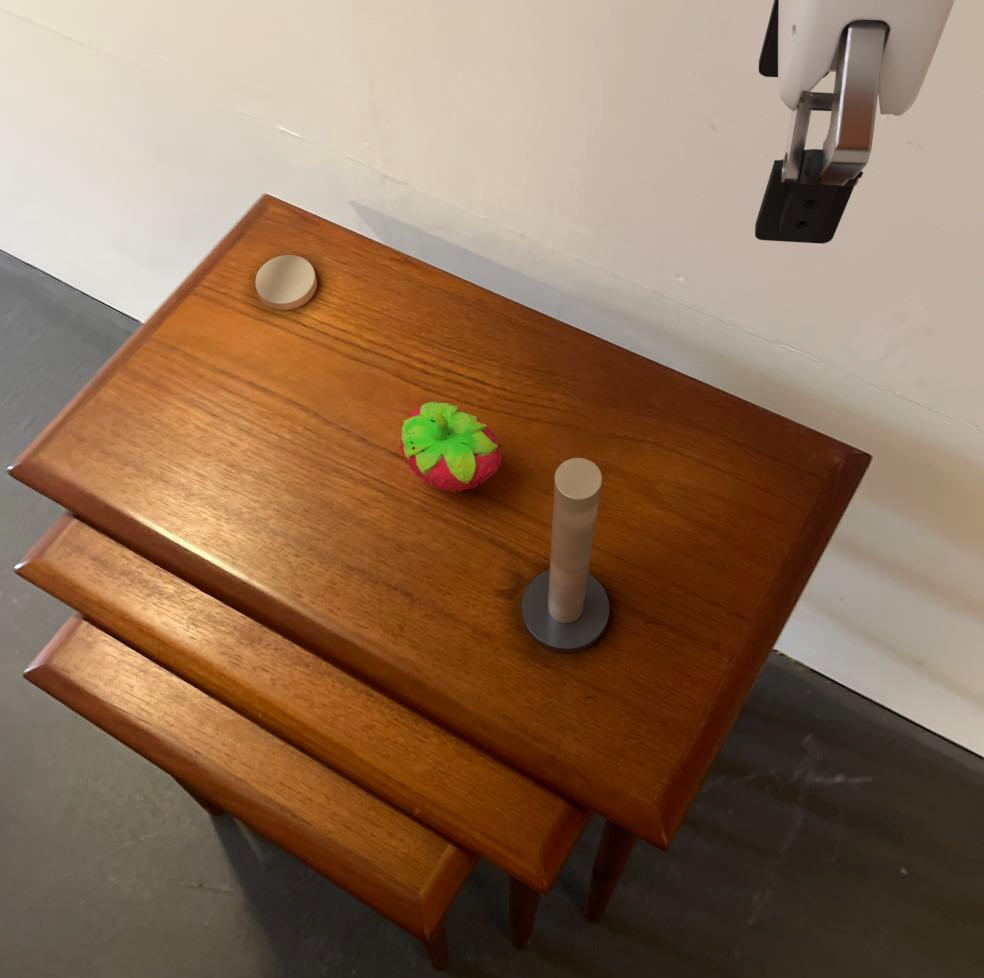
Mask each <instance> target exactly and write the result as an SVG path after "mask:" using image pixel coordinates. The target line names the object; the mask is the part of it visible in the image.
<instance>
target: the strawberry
mask: <svg viewBox="0 0 984 978" xmlns="http://www.w3.org/2000/svg"><path fill="white" fill-rule="evenodd" d="M458 408H459V407H458V405H453V404H450V403H449V402H436V401H429V402H426V403H423V404H421V405H419V406H417V407H415V408H414V409H413V410H412V412H411V413H410V415H409V416H407V419H405V420H403V424H402V425H401V432H400V439H399V440H400V444H399V448H400V450H401V454H400V455H401V456H403V457H404V458H403V460H404V464H405V463H406V464H407V465H408V468H409V469H410V470H412V471H413V473H414V476H415V477H418V478H419V479H420V480H421V481H422V483H423V484H427V485H428V486H431V488H434V487H435V488H437V489H440V490H441V491H450V492H452V493H453V494H454V493H456V492H459V493H461V492H462V491H464V490H468V489H476V487H477V486H478V485H482V484H483V482H484V483H486V481H487V480H489V479H490V478H491V477H492V476H493V475H496V474H495V473H496V472H497V471H498V469H499V468H500V467H501V466H502V463H501V461H502V459H503V458H502V452H501V448H502V445H501V444H499V443H498V441H497V439H498V438H497V435H494V433H493V431H491V430H490V429H489V428H488V424H485V423H484V422H482V421H481V420H480V418H479V417H478V416H476V415H473V414H472V413H471V414H470V413H468V412H467V411H462V410H460V409H458Z"/></svg>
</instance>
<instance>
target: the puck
mask: <svg viewBox="0 0 984 978" xmlns="http://www.w3.org/2000/svg"><path fill="white" fill-rule="evenodd" d="M254 283H255V289H256V292H257V295H258V297H259V299H260V301H261V302H262V303H263V304H264V305H265V306H266V307H269V308H270V309H273V310H277V311H285V312H286V311H292V310H296V309H298V308H301V307H302V306H304V305H306V304H307V303H308V302H310V300H311V299H312V298H313V297H314V295H315V294H316V291H317V288H318V279H317V274H316V272H315V268H314V267H313V265H312V264H311V263H310V261H308V260H307V259H306V258H304V257H302V256H299V255H295V254H283V255H279V256H276V257H272V258H271V259H269V260H268V261H266V262H265V263H264V264H263V265H262V266H261V267H260V268H259V270H258V271H257V273H256V276H255V282H254Z"/></svg>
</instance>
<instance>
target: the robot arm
mask: <svg viewBox="0 0 984 978" xmlns="http://www.w3.org/2000/svg"><path fill="white" fill-rule="evenodd" d="M955 2H956V0H773V4H772V7H771V12H770V16H769V20H768V23H767V27H766V30H765V36H764V39H763V43H762V47H761V51H760V54H759V58H758V73H759V74H760V75H761V76H763V77H764V78H777V85H778V96H779V98H780V99H781V101H782V103H784V105H785V106H786V108H788V109H789V110H790V111H791V113H790V118H789V125H788V131H787V137H786V141H785V149H784V154H783V158H782V159H774V161H773V164H772V168H771V171H770V174H769V178H768V181H767V184H766V187H765V190H764V194H763V197H762V201H761V204H760V207H759V211H758V214H757V217H756V221H755V224H754V225H755V226H754V237H755V238H756V239H757V240H759V241H767V242H768V241H769V242H785V243H804V244H807V243H808V244H821V245H822V244H827V243H829V242H831V241H832V240H833V238H834V236H835V234H836V232H837V229H838V227H839V224H840V222H841V219H842V218H843V215H844V212H845V210H846V208H847V205H848V202H849V201H850V198H851V195H852V193H853V191H854V188H855V187H856V186H857V185H858V184H859V181H860V179H861V178H862V177H863V175H864V171H862V170H863V169H865V167H866V166H867V164H868V162H869V159H870V157H871V152H872V149H873V148H872V147H873V141H874V140H873V139H874V132H875V131H874V130H875V123H876V114H877V107H878V106H877V104H878V103H879V112H880V115H894V116H897V117H898V116H902V115H904V114H905V113H906V112H907V111H908V110H910V109H911V108H912V106H913V105H914V104H915V103H916V101H917V98H918V96H919V93H920V92H921V89H922V86H923V84H924V81H925V79H926V77H927V74H928V71H929V69H930V66H931V64H932V61H933V59H934V56H935V53H936V51H937V49H938V45H939V43H940V40H941V38H942V35H943V32H944V30H945V27H946V25H947V23H948V20H949V17H950V15H951V12H952V9H953V6H954V4H955ZM830 73H835V75H834V85H833V92H820V91H815V92H814V91H812V90H813V89H815V87H816V86H817V85H818V84H819V83H820V82H821V80H822V79H824V78H826V77H827V76H828V75H830ZM813 111H814V112H815V111H816V112H818V111H819V112H830V121H829V126H828V131H827V135H826V137H825V139H824V141H823V143H822V149H821V148H819V149H818V148H811V149H809V148H808V149H805V148H806V142H807V137H808V132H809V127H810V126H809V125H810V120H811V115H812V112H813Z"/></svg>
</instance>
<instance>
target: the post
mask: <svg viewBox="0 0 984 978" xmlns="http://www.w3.org/2000/svg"><path fill="white" fill-rule="evenodd" d="M602 484H603V475H602V471H601V470H600V468H599V467H598V465H597V464H595V463H594V462H593V461H591V460H590V459H587V458H583V457H573V458H572V457H571V458H569V459H567V460H565V461H563V462H562V463H561V464H559V466H558V467H557V468H556V470H555V474H554V483H553V501H552V519H551V537H550V538H551V539H550V556H549V557H550V558H549V561H550V562H549V569H546V570H544V571H542V572H541V573H539V574H537V575H536V576H535V577H534V578H533V579H532V580H531V581H530V582H529V583H528V585H527V586H526V588H525V590H524V593H523V596H522V599H521V620H522V623H523V626H524V629H525V630H526V632H527V634H528V635H529V637H530V638H531V639H532V640H533V641H534V642H535V643H537V644H538V645H539V646H541V647H542V648H544V649H546V650H549V651H551V652H554V653H562V654H573V653H578V652H581V651H583V650H586V649H589V647H591V646H593V645H594V644H595V643H596V642H597V641H598V640H599V639H600V638H601V637H602V635H603V634H604V632H605V631H606V629H607V625H608V622H609V617H610V607H611V606H610V600H609V596H608V594H607V592H606V590H605V587H604V586H603V585H602V584H601V583H600V581H599V580H598V578H596V577H595V576H593V575H592V574H590V564H591V558H592V552H593V545H594V539H595V538H594V537H595V532H596V524H597V518H598V512H599V504H600V499H601V498H600V497H601V491H602Z"/></svg>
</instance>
